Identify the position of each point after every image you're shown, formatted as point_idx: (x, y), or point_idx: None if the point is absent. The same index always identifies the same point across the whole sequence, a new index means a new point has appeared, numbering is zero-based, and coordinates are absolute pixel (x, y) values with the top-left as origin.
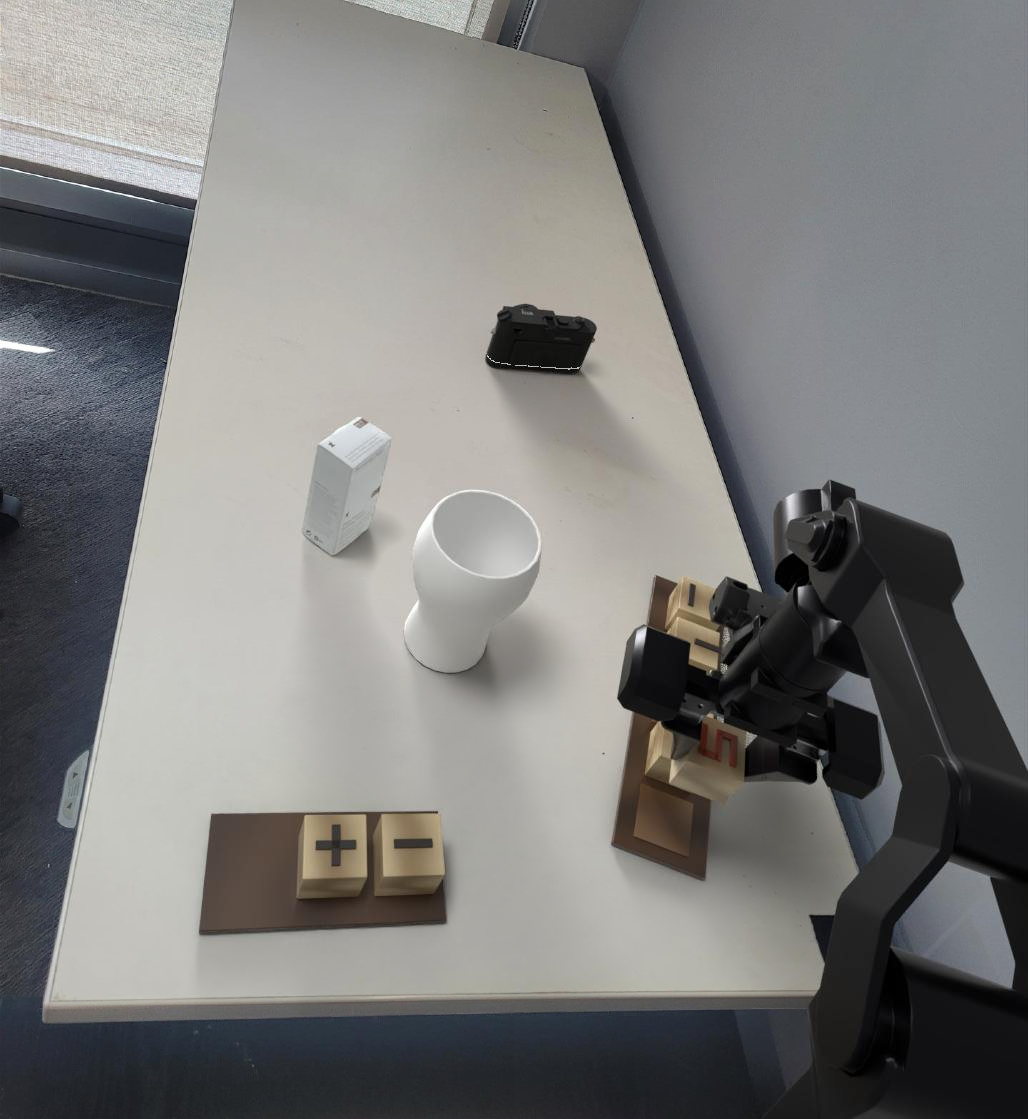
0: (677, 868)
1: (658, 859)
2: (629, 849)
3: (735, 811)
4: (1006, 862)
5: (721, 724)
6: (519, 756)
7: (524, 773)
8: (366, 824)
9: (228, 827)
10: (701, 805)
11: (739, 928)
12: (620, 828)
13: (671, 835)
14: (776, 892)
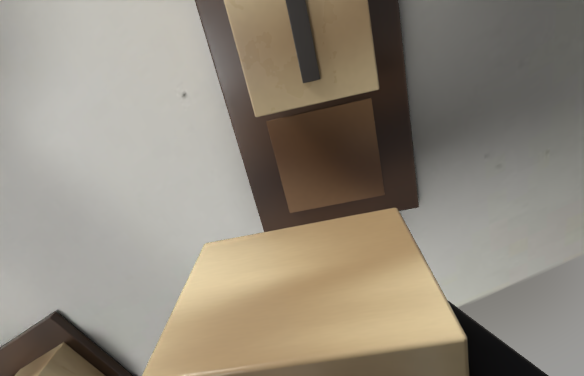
0: None
1: None
2: None
3: (460, 45)
4: None
5: (310, 372)
6: (78, 187)
7: (102, 206)
8: (5, 365)
9: None
10: (387, 90)
11: (484, 232)
12: (266, 212)
13: (347, 178)
14: (549, 150)
